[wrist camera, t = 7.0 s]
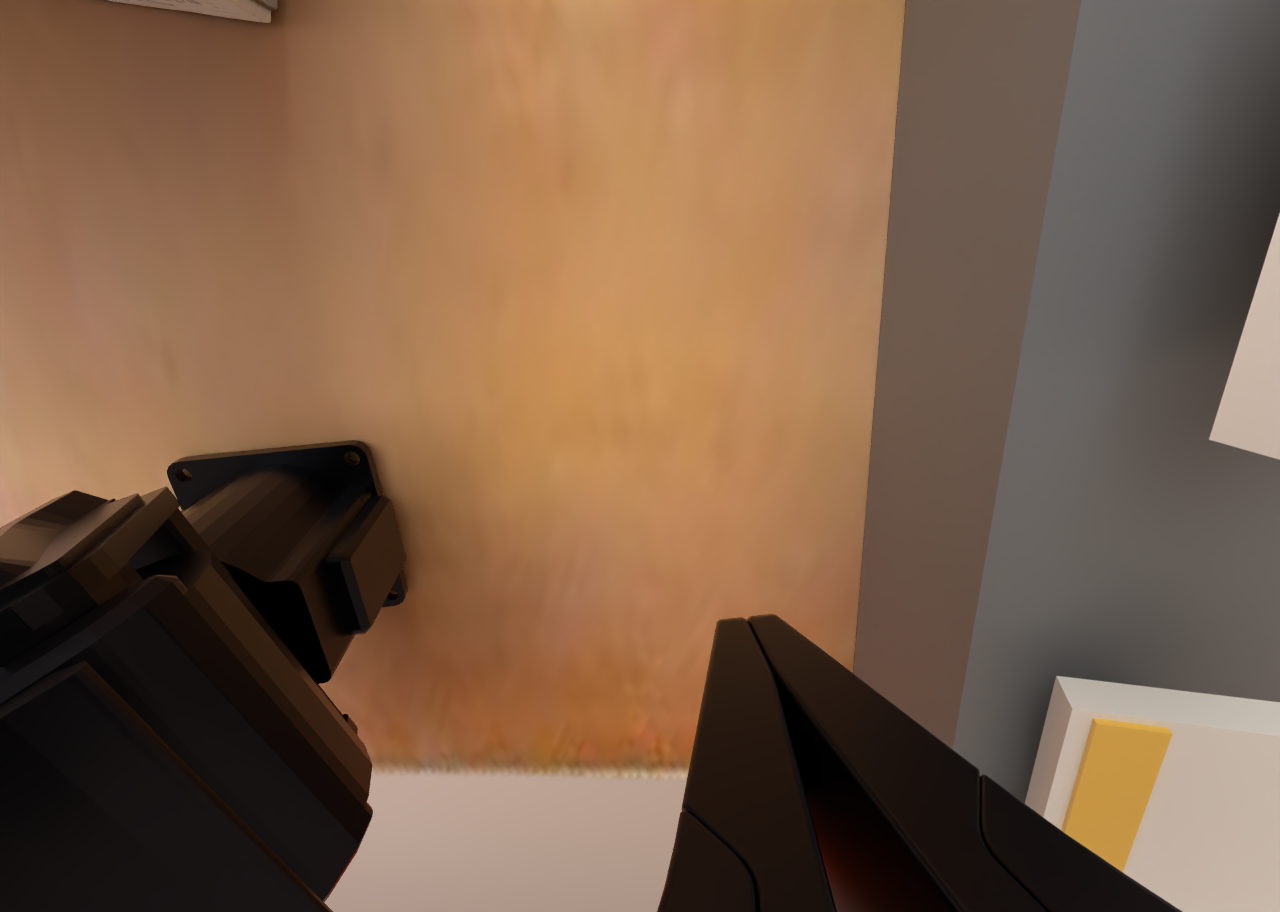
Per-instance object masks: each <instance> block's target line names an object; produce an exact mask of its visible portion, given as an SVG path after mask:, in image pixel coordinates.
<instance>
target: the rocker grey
mask: <svg viewBox="0 0 1280 912" xmlns="http://www.w3.org/2000/svg"><path fill="white" fill-rule="evenodd" d="M1209 440H1212V441H1216V442H1219V443H1223V444H1226V445H1230V446H1233V447H1237V448H1240V449H1244V450H1247V451H1251V452H1254V453H1258V454H1261V455H1265V456H1268V457H1272V458H1275V459H1279V460H1280V213H1279V217H1278V220H1277V223H1276V226H1275V229H1274V233H1273V236H1272V239H1271V242H1270V245H1269V249H1268V252H1267V255H1266V258H1265V261H1264V265H1263V268H1262V271H1261V274H1260V277H1259V281H1258V284H1257V287H1256V290H1255V293H1254V297H1253V300H1252V303H1251V306H1250V309H1249V313H1248V316H1247V319H1246V322H1245V325H1244V329H1243V332H1242V335H1241V338H1240V342H1239V345H1238V348H1237V351H1236V354H1235V358H1234V361H1233V364H1232V367H1231V370H1230V374H1229V377H1228V380H1227V383H1226V386H1225V390H1224V393H1223V396H1222V399H1221V402H1220V406H1219V409H1218V412H1217V415H1216V418H1215V422H1214V425H1213V428H1212V431H1211V434H1210V438H1209Z"/></svg>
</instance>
